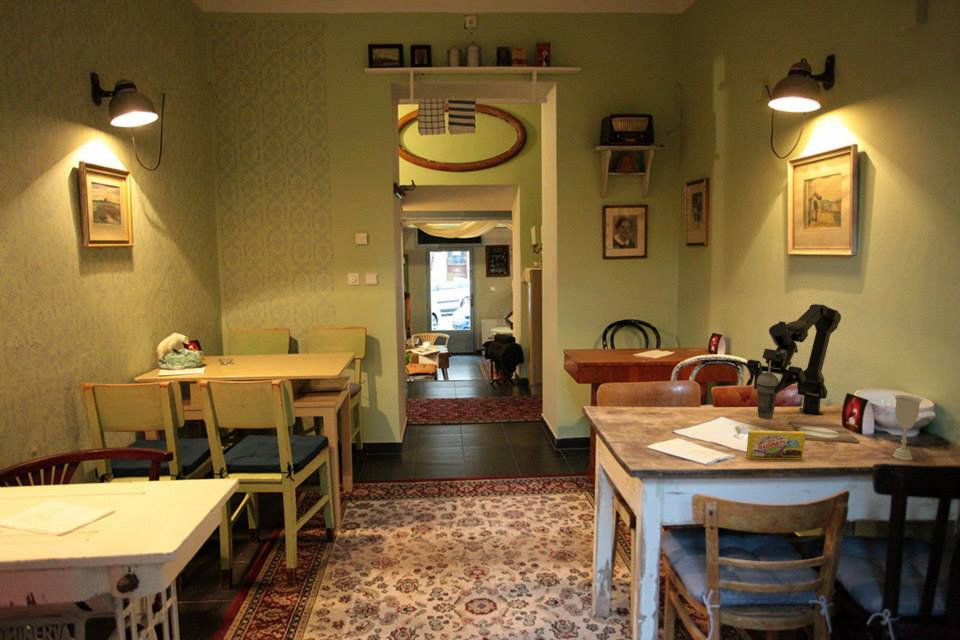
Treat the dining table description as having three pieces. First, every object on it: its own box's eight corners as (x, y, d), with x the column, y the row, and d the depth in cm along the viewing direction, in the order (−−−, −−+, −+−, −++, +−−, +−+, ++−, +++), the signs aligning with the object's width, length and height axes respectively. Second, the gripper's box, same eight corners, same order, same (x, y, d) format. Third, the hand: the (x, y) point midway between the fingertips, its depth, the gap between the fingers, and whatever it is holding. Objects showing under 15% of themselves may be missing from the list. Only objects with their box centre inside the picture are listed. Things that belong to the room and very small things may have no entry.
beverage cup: (772, 415, 225) (776, 358, 222) (780, 421, 218) (784, 362, 215) (750, 414, 226) (754, 357, 223) (757, 420, 218) (761, 361, 216)
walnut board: (788, 422, 229) (788, 419, 229) (838, 425, 226) (838, 422, 226) (805, 439, 209) (805, 436, 209) (859, 443, 206) (859, 440, 206)
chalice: (887, 451, 199) (893, 394, 196) (914, 455, 196) (920, 396, 194) (890, 458, 192) (896, 399, 190) (918, 462, 189) (924, 402, 187)
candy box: (748, 459, 191) (750, 432, 190) (745, 457, 193) (747, 430, 192) (803, 460, 191) (806, 432, 190) (800, 457, 193) (802, 430, 192)
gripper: (750, 336, 228) (731, 371, 222) (804, 343, 213) (785, 381, 208) (760, 356, 234) (742, 390, 228) (813, 364, 219) (795, 401, 214)
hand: (765, 390), depth 219 cm, fingers closed on beverage cup, 7 cm apart
